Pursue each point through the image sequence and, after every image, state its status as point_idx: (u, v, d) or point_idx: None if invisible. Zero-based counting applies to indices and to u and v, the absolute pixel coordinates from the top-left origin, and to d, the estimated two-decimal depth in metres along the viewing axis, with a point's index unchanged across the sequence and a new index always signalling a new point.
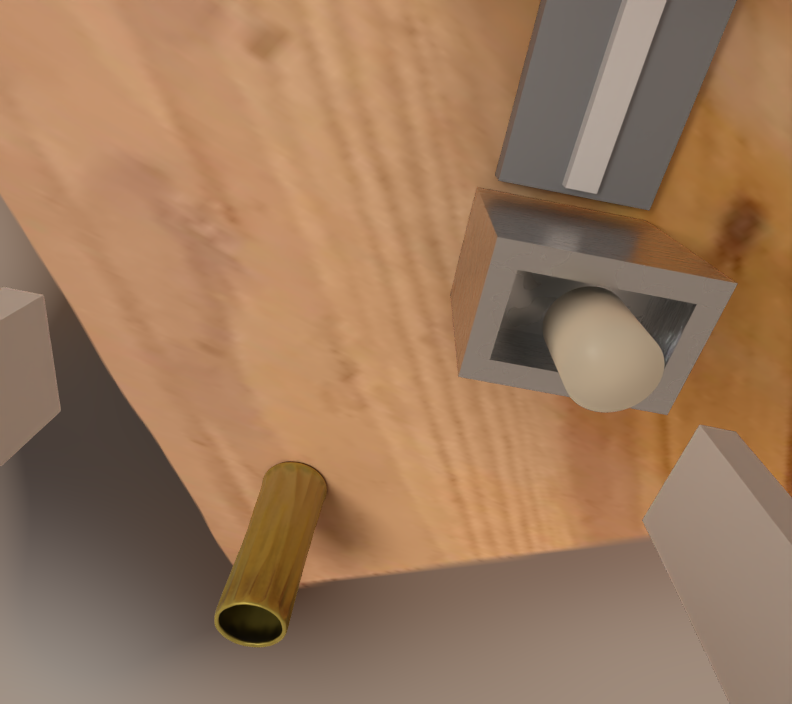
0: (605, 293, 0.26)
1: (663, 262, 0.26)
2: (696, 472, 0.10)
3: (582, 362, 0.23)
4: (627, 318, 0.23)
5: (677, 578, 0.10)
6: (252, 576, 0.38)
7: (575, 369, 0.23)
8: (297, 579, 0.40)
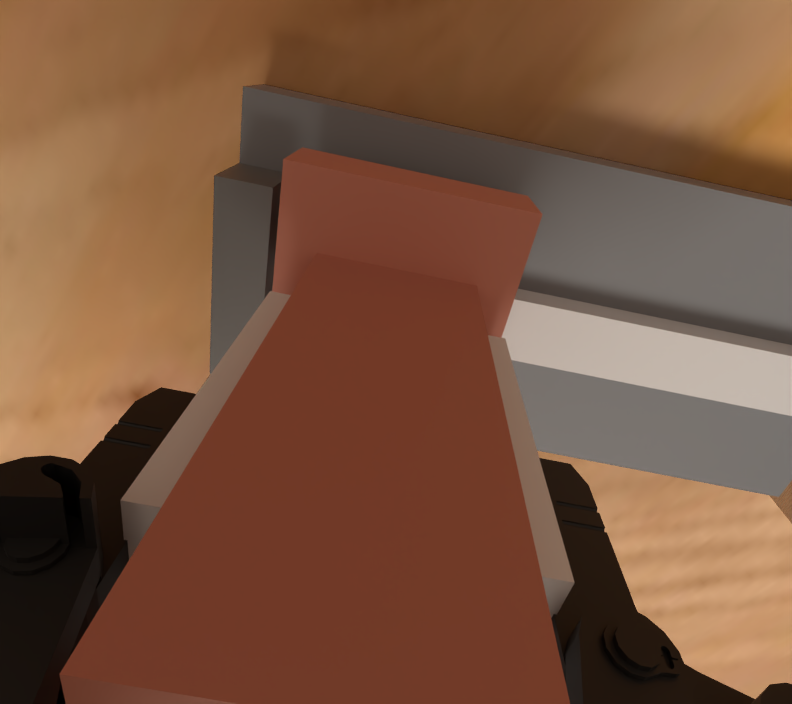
0: None
1: None
2: None
3: None
4: None
5: None
6: None
7: None
8: None
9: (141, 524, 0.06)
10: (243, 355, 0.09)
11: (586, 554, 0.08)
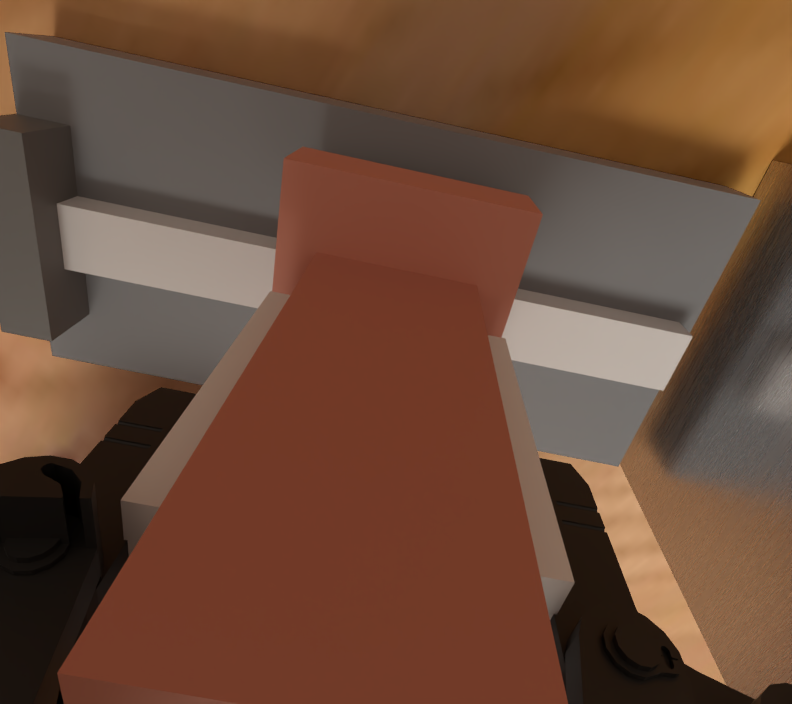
0: None
1: None
2: None
3: None
4: None
5: None
6: None
7: None
8: None
9: (141, 524, 0.06)
10: (243, 355, 0.09)
11: (586, 554, 0.08)
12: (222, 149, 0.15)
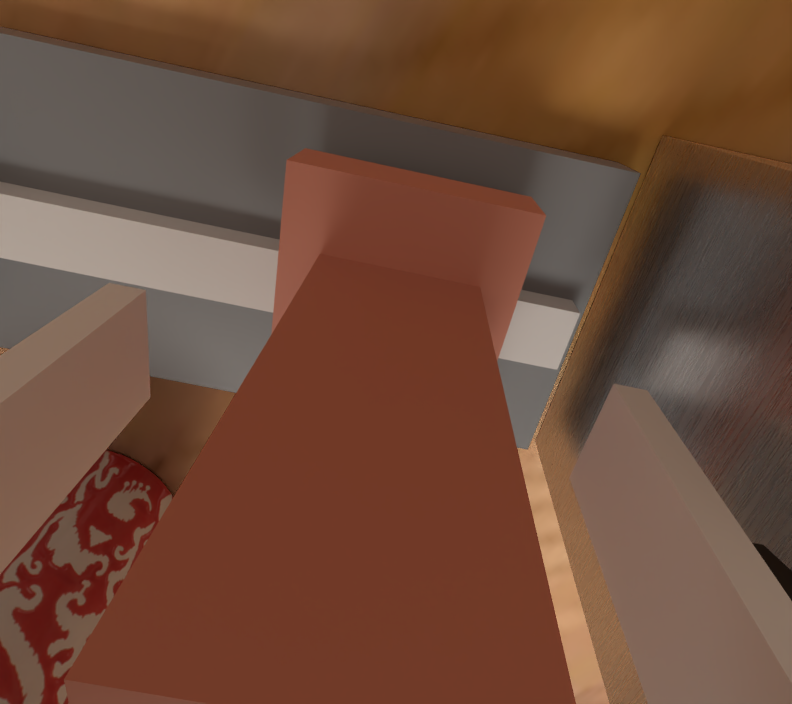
0: None
1: None
2: (609, 427, 0.11)
3: None
4: None
5: (591, 524, 0.11)
6: None
7: None
8: None
9: None
10: (28, 353, 0.08)
11: None
12: (96, 123, 0.15)
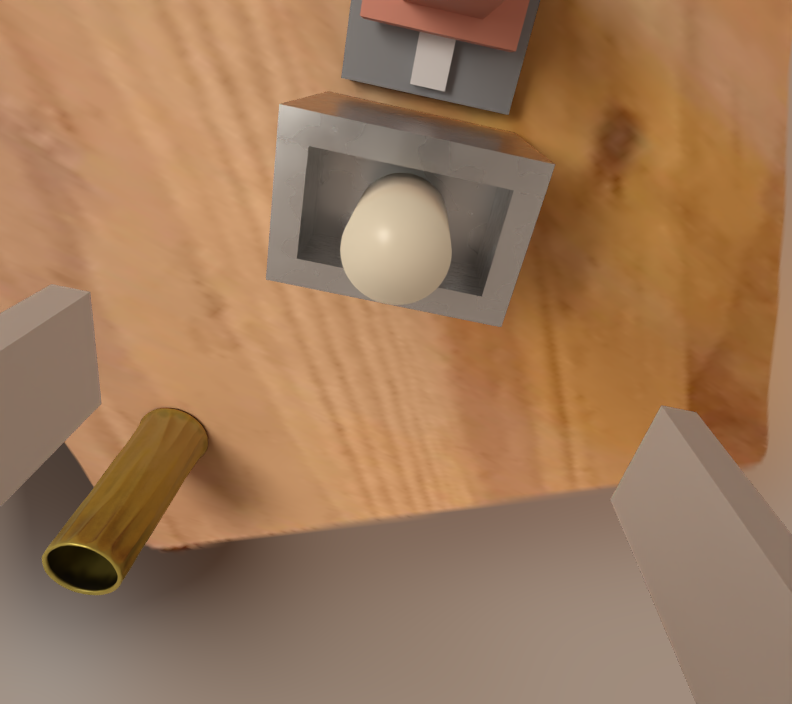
0: (412, 177, 0.23)
1: (480, 144, 0.23)
2: (657, 451, 0.10)
3: (358, 240, 0.20)
4: (413, 192, 0.20)
5: (639, 553, 0.10)
6: (88, 517, 0.35)
7: (352, 249, 0.20)
8: (146, 524, 0.37)
9: None
10: None
11: None
12: None
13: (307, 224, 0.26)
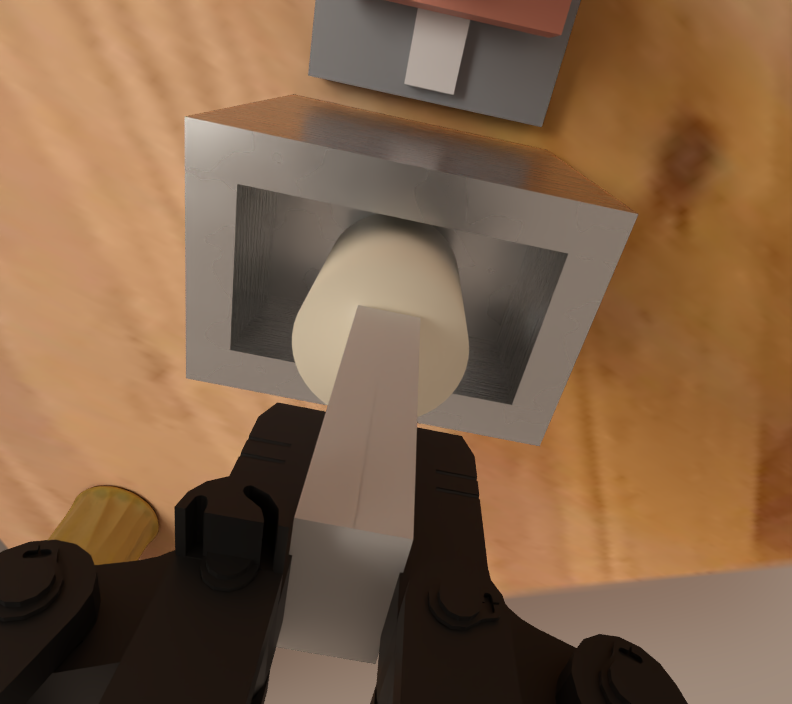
0: (407, 221, 0.15)
1: (513, 179, 0.15)
2: None
3: (320, 331, 0.13)
4: (408, 253, 0.13)
5: None
6: None
7: (311, 344, 0.13)
8: None
9: (309, 540, 0.06)
10: (355, 371, 0.09)
11: (451, 518, 0.08)
12: None
13: (250, 293, 0.17)
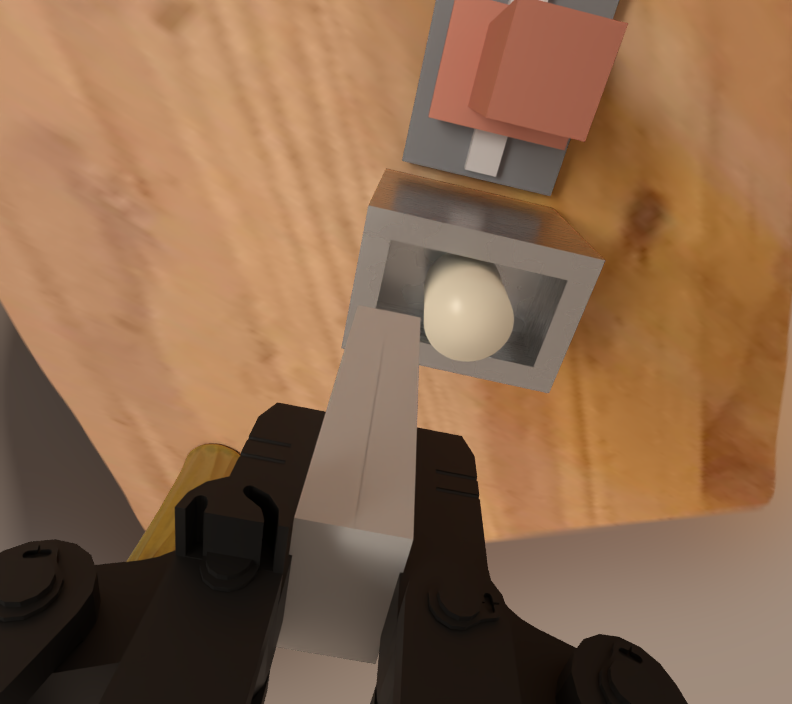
0: None
1: (538, 238, 0.27)
2: None
3: (439, 311, 0.25)
4: (483, 273, 0.26)
5: None
6: (152, 552, 0.37)
7: (434, 318, 0.25)
8: None
9: (309, 540, 0.06)
10: (355, 371, 0.09)
11: (450, 518, 0.08)
12: None
13: None
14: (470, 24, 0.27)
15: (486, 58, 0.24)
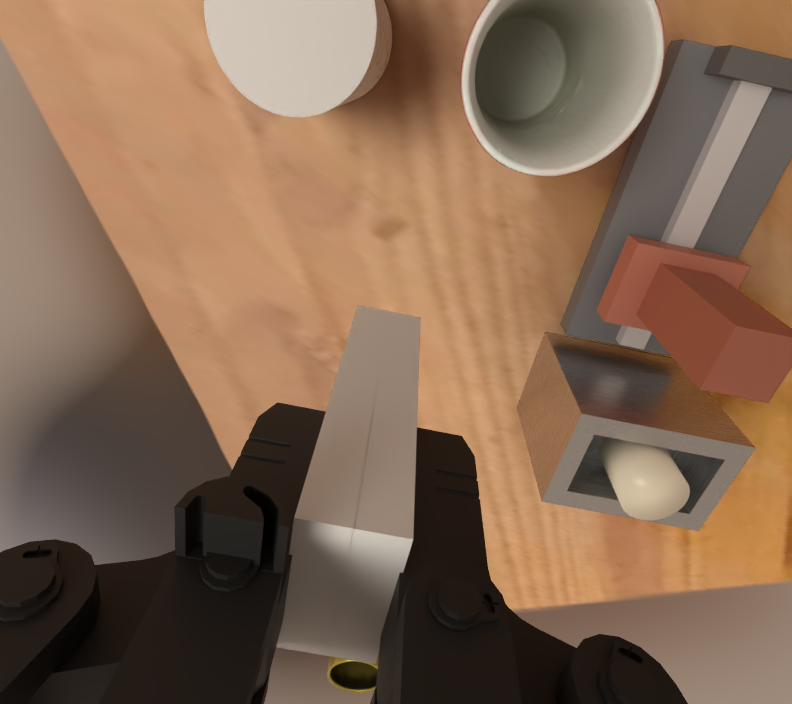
0: None
1: (700, 426, 0.35)
2: None
3: (634, 489, 0.34)
4: (664, 459, 0.34)
5: None
6: None
7: (628, 494, 0.34)
8: None
9: (309, 540, 0.06)
10: (355, 371, 0.09)
11: (450, 518, 0.08)
12: (760, 164, 0.35)
13: None
14: (645, 263, 0.36)
15: (670, 307, 0.33)
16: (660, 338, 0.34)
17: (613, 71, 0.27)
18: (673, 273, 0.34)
